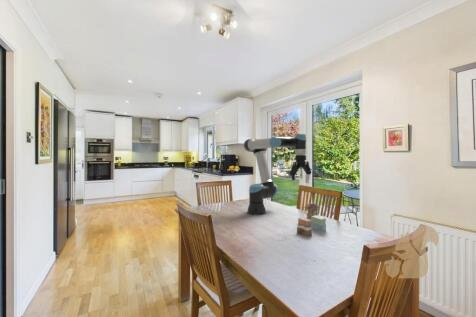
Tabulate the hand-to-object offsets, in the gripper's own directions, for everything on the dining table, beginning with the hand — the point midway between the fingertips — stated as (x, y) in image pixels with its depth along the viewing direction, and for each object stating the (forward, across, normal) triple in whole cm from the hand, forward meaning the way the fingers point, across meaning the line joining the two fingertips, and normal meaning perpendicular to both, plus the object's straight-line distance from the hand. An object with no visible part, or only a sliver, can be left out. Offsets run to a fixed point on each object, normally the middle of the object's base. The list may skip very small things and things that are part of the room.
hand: (300, 183), depth 160 cm
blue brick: (+27, -6, -20) cm, 34 cm away
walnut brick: (+27, -20, -21) cm, 39 cm away
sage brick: (+23, -6, -20) cm, 31 cm away
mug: (+27, +7, -3) cm, 28 cm away
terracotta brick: (+27, -6, -9) cm, 29 cm away
